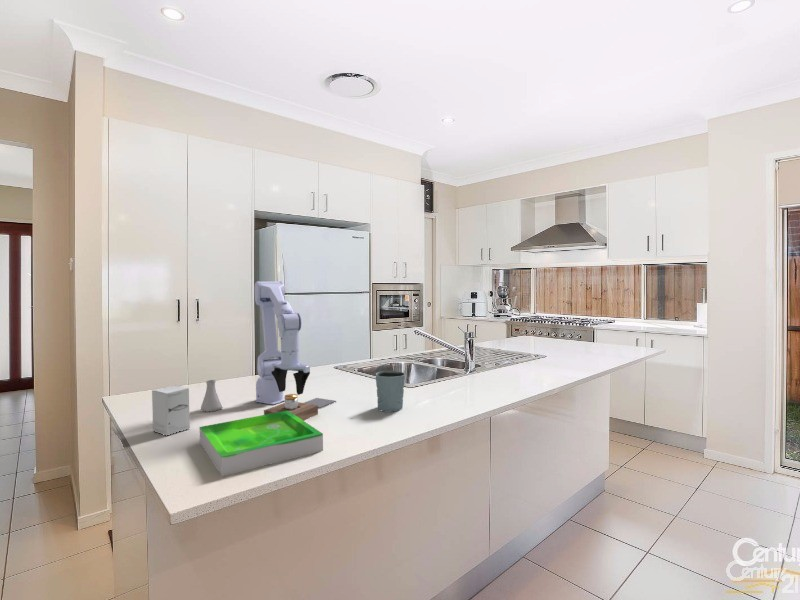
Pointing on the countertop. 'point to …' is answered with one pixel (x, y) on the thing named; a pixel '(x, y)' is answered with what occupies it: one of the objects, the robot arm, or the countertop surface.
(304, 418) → the housing
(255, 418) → the tray
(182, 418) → the supplement box
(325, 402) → the mat
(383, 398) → the grey cup
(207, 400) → the flask
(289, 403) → the glass jar
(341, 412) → the countertop surface
